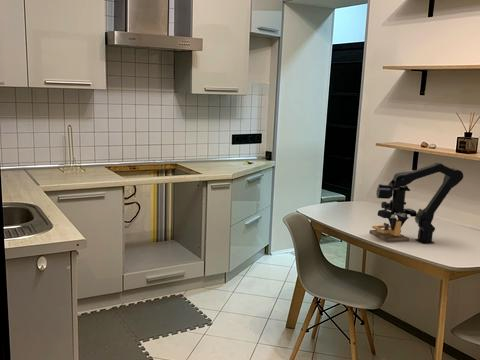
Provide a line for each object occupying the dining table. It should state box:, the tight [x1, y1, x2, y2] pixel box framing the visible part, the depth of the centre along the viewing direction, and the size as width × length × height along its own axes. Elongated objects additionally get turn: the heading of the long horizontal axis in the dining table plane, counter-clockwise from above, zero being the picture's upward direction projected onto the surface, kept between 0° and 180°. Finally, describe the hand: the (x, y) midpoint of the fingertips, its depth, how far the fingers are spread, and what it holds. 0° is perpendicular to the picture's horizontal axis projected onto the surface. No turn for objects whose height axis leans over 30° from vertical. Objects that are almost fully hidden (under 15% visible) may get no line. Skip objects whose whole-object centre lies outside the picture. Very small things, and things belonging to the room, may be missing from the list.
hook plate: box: [369, 222, 410, 244], centre depth 236 cm, size 16×12×6 cm
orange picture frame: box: [371, 219, 402, 236], centre depth 235 cm, size 14×10×7 cm
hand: (395, 230), depth 231 cm, fingers closed on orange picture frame, 3 cm apart
